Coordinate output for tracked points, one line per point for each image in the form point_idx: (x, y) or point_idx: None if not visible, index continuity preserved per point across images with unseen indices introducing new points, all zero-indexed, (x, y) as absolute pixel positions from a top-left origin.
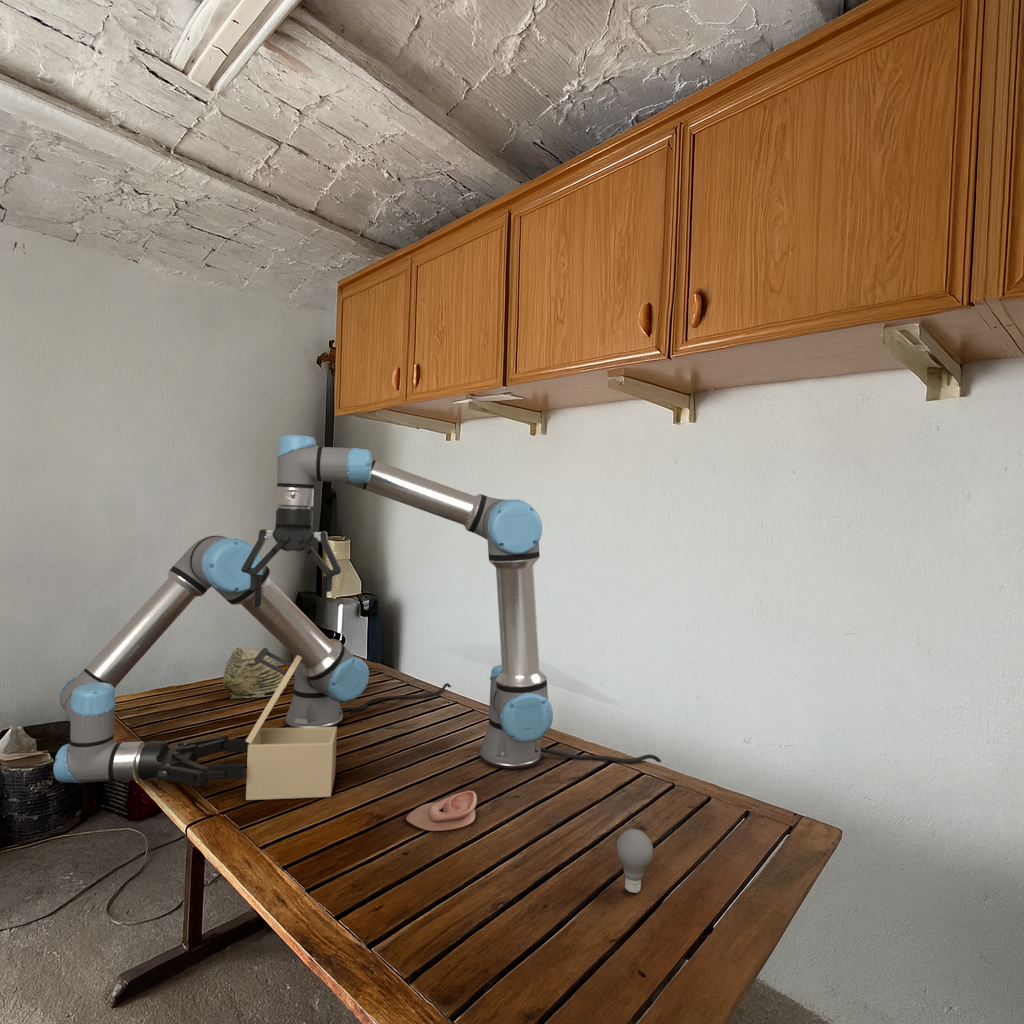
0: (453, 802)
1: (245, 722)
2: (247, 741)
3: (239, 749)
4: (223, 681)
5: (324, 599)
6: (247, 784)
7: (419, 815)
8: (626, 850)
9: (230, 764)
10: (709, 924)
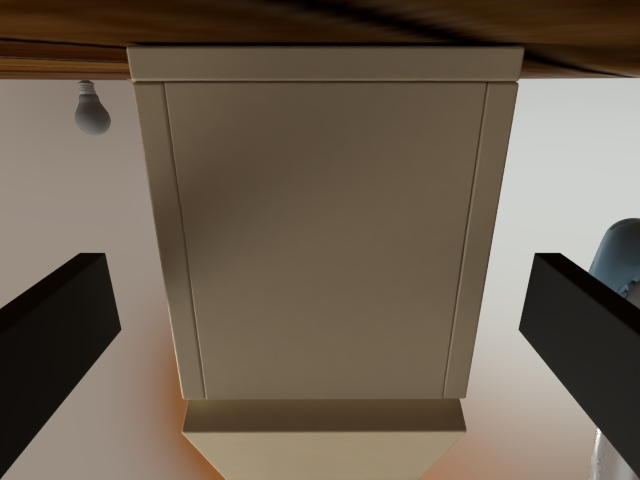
0: None
1: None
2: (183, 422)
3: (615, 348)
4: None
5: None
6: (149, 173)
7: None
8: (78, 125)
9: (65, 389)
10: (64, 79)
